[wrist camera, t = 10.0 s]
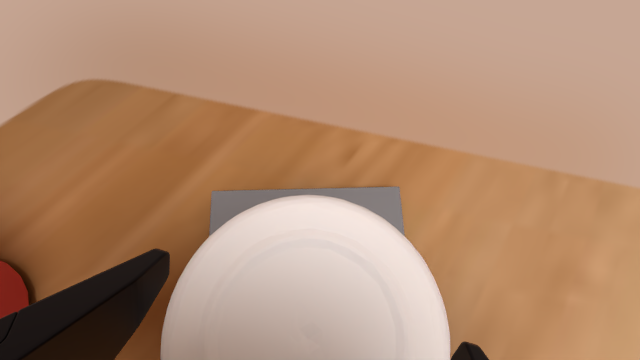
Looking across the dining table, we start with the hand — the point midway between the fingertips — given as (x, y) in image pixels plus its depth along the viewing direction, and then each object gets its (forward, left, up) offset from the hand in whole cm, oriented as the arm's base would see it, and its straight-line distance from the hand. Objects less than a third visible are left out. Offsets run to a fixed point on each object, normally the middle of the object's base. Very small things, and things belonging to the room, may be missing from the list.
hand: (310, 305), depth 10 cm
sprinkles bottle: (0, 0, -8) cm, 8 cm away
